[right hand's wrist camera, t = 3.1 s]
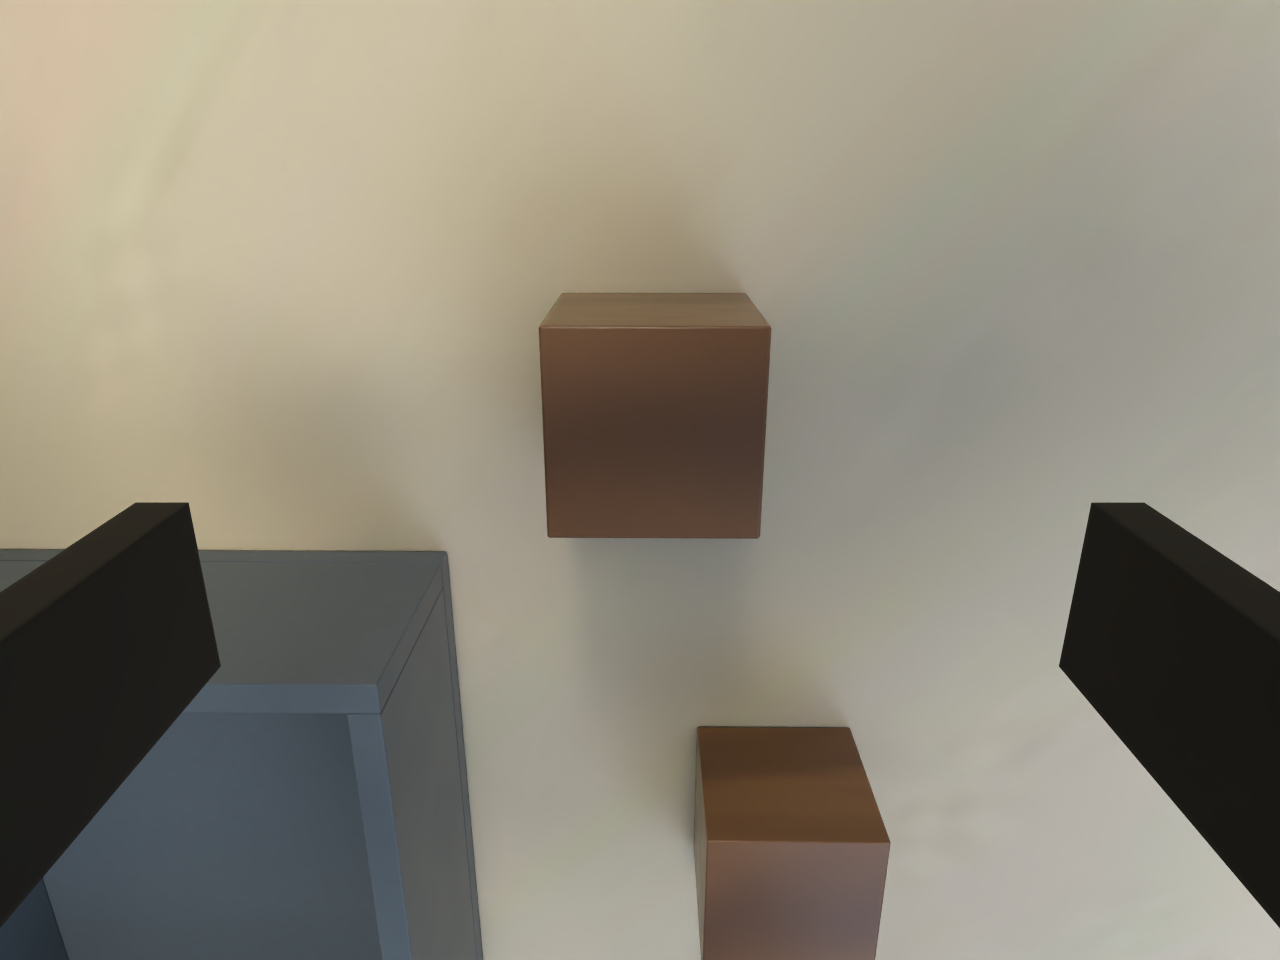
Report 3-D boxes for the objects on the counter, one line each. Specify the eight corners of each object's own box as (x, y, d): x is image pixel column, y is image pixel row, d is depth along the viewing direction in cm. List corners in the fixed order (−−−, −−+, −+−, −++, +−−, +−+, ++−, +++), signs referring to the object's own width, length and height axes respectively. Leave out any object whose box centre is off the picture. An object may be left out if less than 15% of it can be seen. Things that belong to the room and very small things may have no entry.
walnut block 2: (697, 726, 28) (706, 840, 23) (850, 727, 28) (891, 842, 23) (693, 846, 29) (702, 975, 25) (837, 847, 29) (873, 976, 25)
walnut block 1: (561, 292, 23) (538, 325, 18) (746, 292, 23) (771, 326, 18) (566, 467, 25) (547, 538, 20) (739, 467, 24) (760, 539, 20)
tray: (-389, 546, 26) (-742, 676, 19) (447, 551, 26) (376, 684, 19) (-190, 969, 32) (-408, 1177, 25) (484, 976, 32) (441, 1188, 25)
